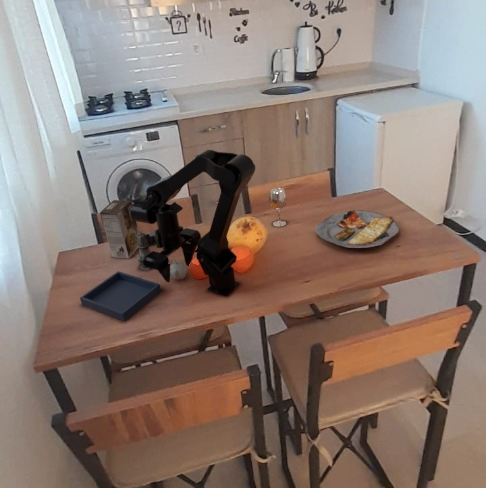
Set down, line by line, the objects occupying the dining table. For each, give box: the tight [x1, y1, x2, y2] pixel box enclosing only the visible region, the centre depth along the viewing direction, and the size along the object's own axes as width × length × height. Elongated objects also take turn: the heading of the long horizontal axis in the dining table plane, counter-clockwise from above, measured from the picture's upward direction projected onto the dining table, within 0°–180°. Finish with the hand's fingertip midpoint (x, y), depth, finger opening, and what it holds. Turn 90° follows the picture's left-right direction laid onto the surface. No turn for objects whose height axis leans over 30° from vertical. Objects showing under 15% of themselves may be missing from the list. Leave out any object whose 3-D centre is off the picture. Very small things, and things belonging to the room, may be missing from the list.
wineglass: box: [268, 187, 288, 228], centre depth 154 cm, size 6×6×12 cm
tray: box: [79, 270, 163, 322], centre depth 128 cm, size 16×14×2 cm
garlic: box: [170, 260, 189, 280], centre depth 134 cm, size 6×5×5 cm
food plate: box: [315, 209, 400, 249], centre depth 145 cm, size 25×23×4 cm
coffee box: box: [99, 199, 140, 259], centre depth 148 cm, size 9×6×16 cm
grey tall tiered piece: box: [135, 230, 153, 271], centre depth 139 cm, size 6×6×12 cm
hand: (178, 273), depth 134 cm, fingers open, 9 cm apart
